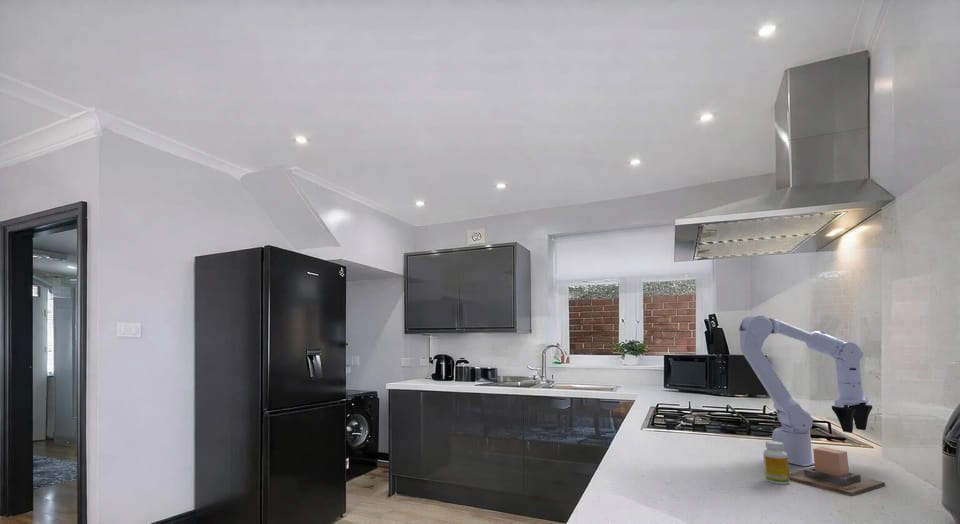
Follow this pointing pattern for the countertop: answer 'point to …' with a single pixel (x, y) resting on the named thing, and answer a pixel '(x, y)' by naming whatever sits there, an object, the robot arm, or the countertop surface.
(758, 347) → the robot arm
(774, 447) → the supplement bottle
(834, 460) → the plug block
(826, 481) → the socket board
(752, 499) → the countertop surface
